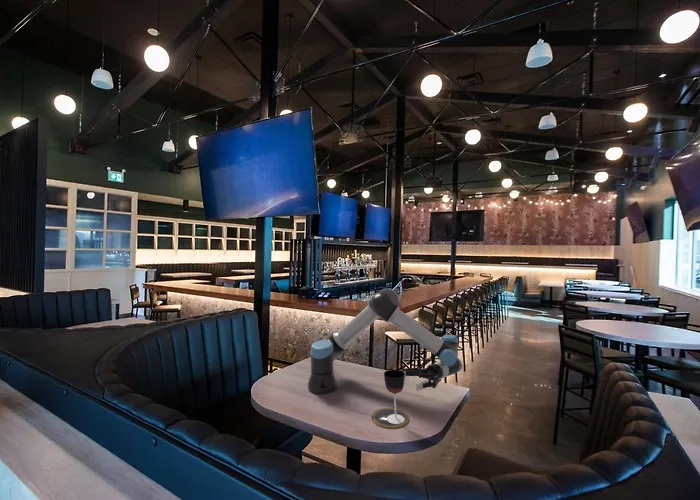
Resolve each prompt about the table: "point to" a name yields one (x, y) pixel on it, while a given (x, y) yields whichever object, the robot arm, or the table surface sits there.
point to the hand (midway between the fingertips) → (405, 382)
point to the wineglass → (394, 391)
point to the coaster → (381, 416)
